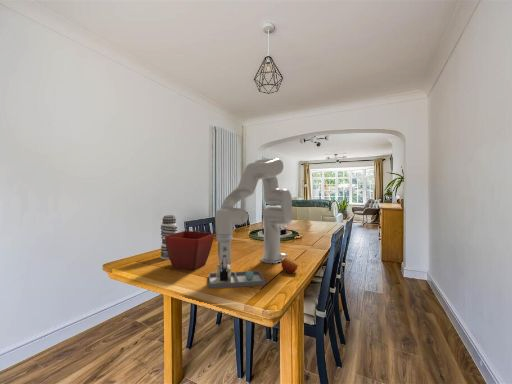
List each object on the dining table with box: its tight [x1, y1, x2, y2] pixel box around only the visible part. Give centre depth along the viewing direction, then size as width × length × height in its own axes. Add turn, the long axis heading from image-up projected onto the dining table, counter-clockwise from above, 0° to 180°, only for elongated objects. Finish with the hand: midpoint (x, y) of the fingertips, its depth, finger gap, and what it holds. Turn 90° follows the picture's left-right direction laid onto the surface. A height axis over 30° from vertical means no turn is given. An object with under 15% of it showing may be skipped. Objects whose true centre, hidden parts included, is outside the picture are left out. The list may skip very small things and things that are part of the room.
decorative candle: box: [160, 214, 178, 260], centre depth 138 cm, size 9×9×25 cm
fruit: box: [281, 257, 299, 274], centre depth 117 cm, size 8×8×8 cm
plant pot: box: [165, 230, 215, 271], centre depth 123 cm, size 19×19×17 cm
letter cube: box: [215, 264, 232, 283], centre depth 103 cm, size 6×6×6 cm
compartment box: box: [208, 270, 267, 289], centre depth 104 cm, size 24×13×2 cm, turn 101°
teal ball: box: [245, 270, 254, 280], centre depth 105 cm, size 4×4×4 cm
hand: (223, 277), depth 103 cm, fingers closed on letter cube, 6 cm apart
